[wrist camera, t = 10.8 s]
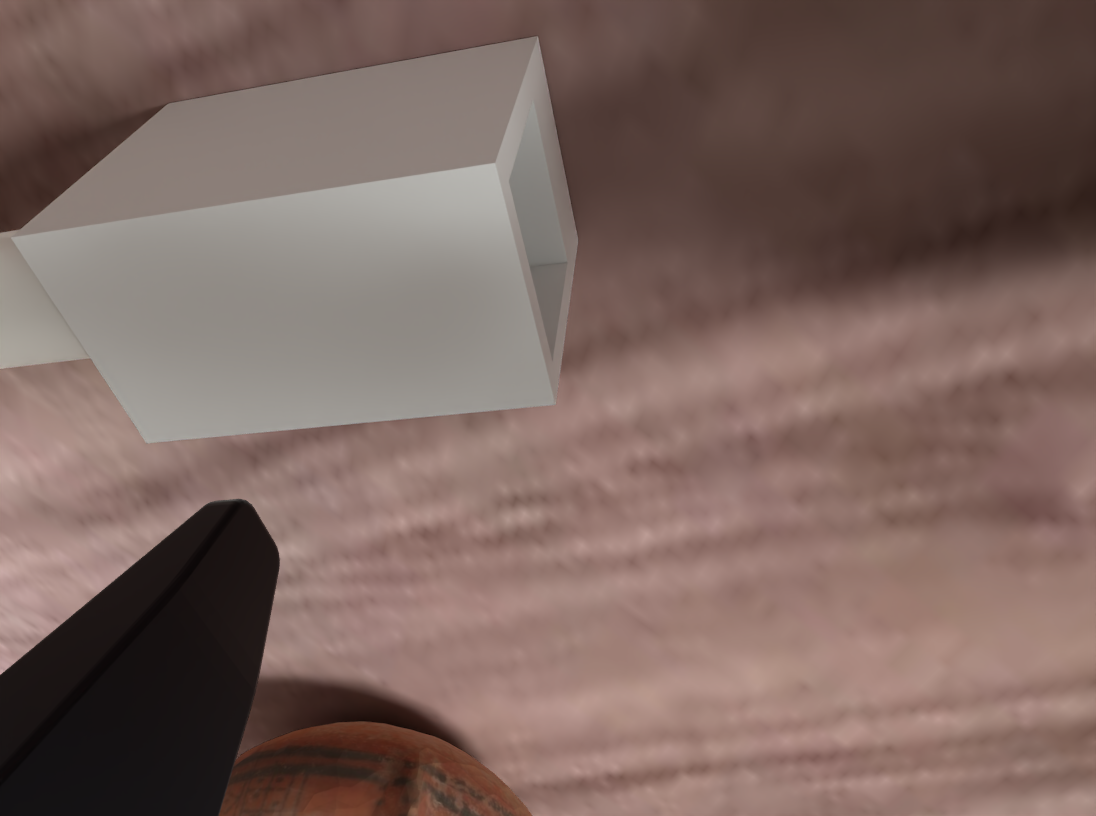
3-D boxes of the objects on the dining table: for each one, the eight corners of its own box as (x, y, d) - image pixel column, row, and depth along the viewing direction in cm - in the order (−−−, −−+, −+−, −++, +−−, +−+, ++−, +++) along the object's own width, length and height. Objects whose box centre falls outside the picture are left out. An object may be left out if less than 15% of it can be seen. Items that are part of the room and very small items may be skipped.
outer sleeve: (537, 36, 18) (495, 163, 13) (578, 240, 22) (555, 404, 17) (168, 103, 20) (10, 237, 15) (254, 283, 23) (146, 443, 18)
